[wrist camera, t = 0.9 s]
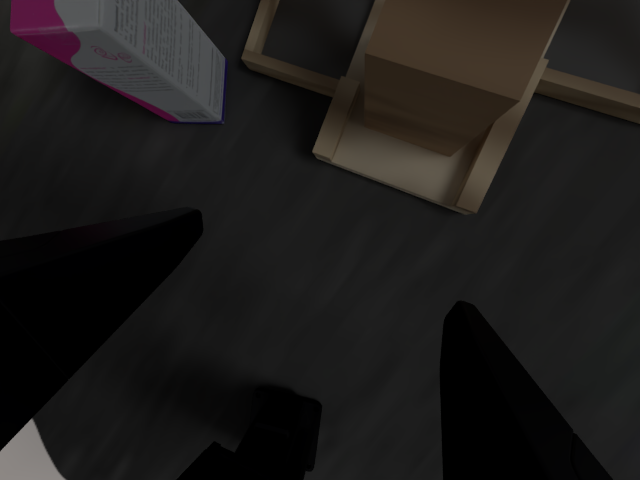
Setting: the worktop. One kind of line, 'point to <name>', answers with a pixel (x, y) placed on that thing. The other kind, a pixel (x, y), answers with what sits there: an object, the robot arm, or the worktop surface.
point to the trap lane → (488, 146)
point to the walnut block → (451, 66)
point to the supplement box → (133, 52)
